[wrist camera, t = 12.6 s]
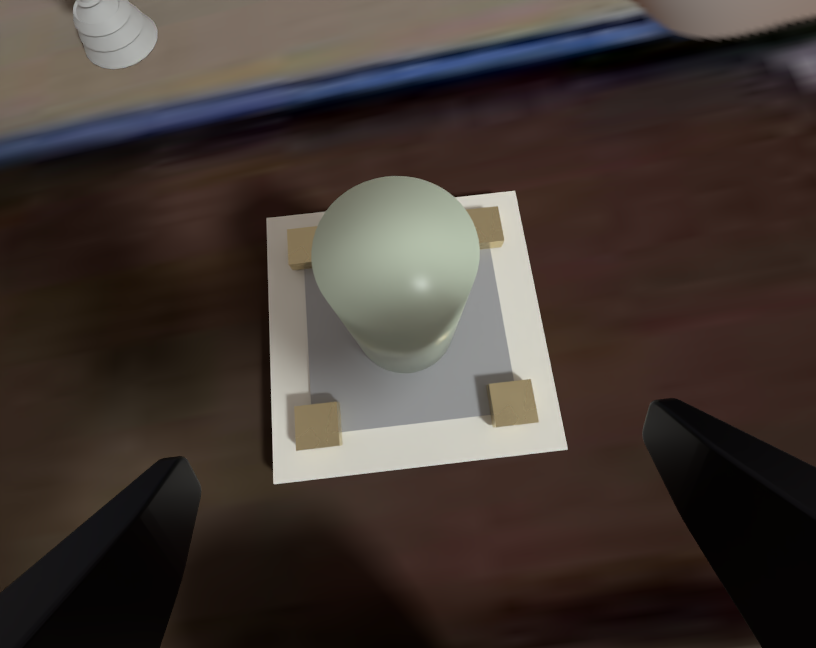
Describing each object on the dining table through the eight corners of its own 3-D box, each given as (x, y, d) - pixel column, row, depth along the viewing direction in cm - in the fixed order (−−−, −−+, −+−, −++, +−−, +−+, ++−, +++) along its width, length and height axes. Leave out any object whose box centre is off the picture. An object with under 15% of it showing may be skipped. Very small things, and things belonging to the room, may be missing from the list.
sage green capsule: (376, 388, 20) (344, 359, 11) (342, 299, 21) (289, 209, 12) (469, 350, 20) (508, 293, 12) (430, 264, 22) (439, 154, 13)
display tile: (557, 448, 21) (575, 450, 18) (283, 480, 21) (266, 487, 18) (509, 205, 24) (519, 180, 22) (275, 230, 24) (259, 208, 22)
